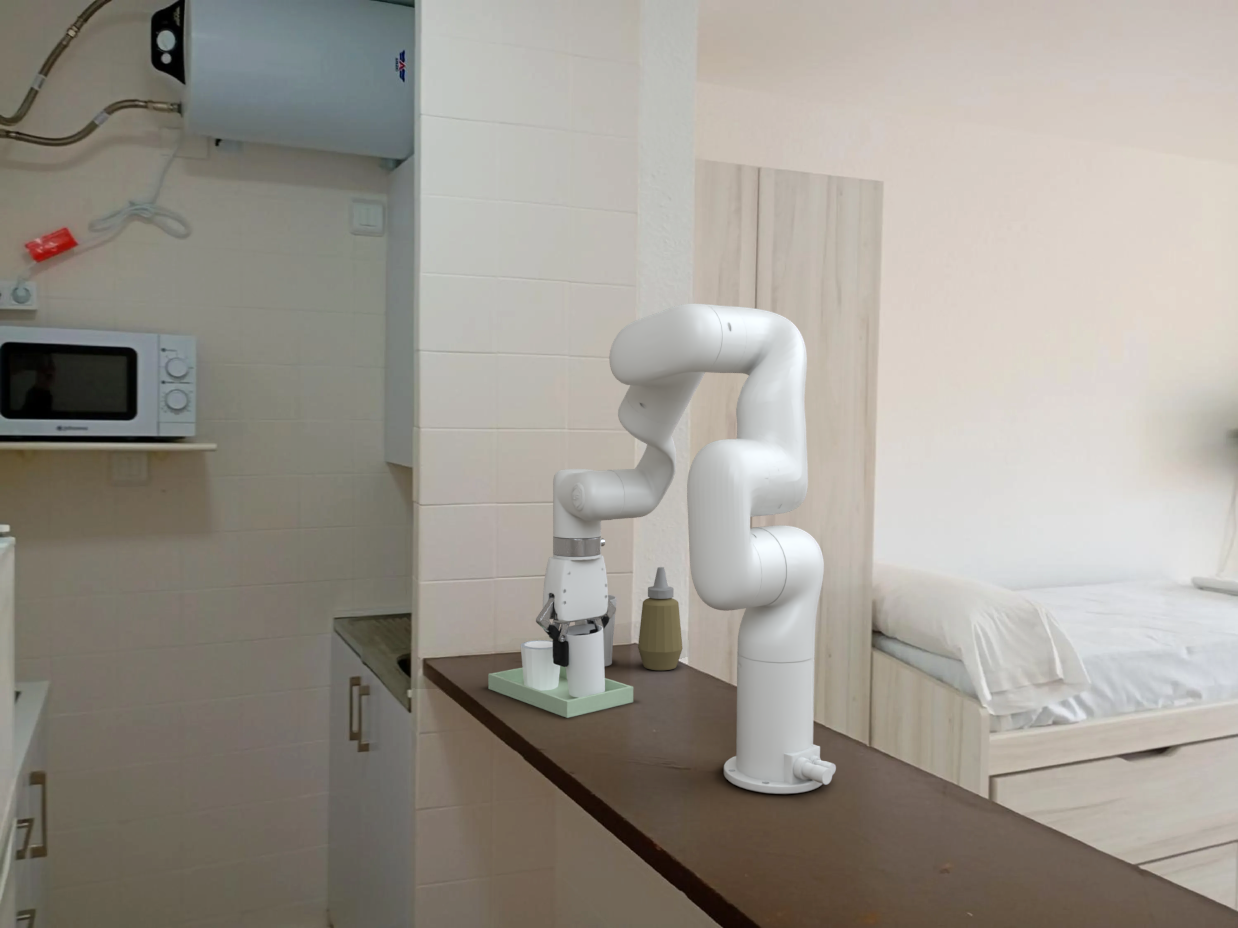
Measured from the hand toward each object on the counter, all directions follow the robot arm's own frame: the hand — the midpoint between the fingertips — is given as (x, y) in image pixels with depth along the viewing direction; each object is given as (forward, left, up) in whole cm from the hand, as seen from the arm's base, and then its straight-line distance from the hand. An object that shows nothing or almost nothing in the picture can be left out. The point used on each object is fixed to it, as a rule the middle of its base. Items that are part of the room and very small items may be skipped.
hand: (576, 660), depth 163 cm
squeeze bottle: (+8, -25, -7) cm, 27 cm away
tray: (+5, 0, -7) cm, 8 cm away
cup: (+18, -18, -7) cm, 26 cm away
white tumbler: (-1, -1, -5) cm, 5 cm away
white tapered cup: (+10, 0, -6) cm, 11 cm away
